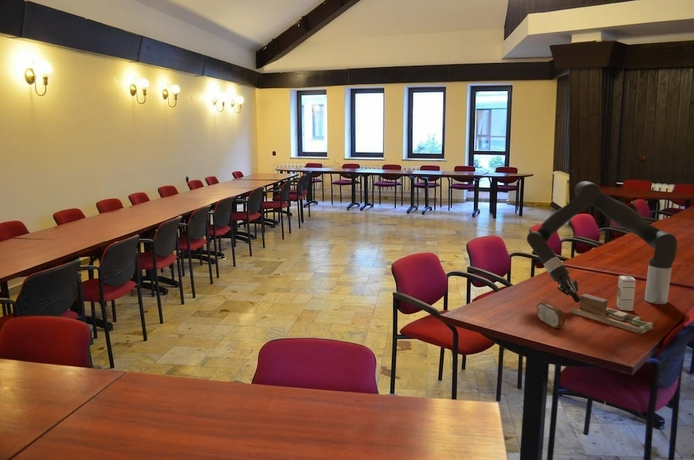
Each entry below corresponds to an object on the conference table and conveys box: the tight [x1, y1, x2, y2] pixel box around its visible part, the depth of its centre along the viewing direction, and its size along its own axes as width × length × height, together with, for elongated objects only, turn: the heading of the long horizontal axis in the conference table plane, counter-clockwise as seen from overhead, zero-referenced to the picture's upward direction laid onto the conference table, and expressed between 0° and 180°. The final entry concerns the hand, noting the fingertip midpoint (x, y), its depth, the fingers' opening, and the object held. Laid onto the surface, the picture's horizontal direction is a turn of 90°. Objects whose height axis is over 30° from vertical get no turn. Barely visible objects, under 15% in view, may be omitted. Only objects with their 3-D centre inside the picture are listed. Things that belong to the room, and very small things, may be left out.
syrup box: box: [615, 275, 637, 312], centre depth 237 cm, size 6×6×14 cm
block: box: [578, 293, 609, 318], centre depth 229 cm, size 4×10×8 cm, turn 37°
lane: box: [569, 307, 654, 335], centre depth 225 cm, size 14×30×2 cm, turn 37°
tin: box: [536, 301, 566, 329], centre depth 218 cm, size 15×3×8 cm, turn 17°
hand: (578, 301), depth 234 cm, fingers closed
